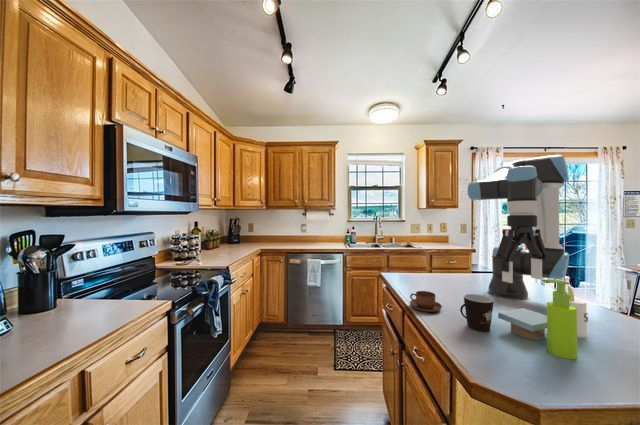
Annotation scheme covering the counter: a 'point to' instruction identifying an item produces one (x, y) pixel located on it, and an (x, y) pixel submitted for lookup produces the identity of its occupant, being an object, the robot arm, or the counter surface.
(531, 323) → the lid
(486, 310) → the coffee mug
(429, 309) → the cup and saucer
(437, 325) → the counter surface
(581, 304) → the white bottle
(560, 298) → the soap dispenser
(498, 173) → the robot arm
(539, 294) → the counter surface
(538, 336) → the block
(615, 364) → the counter surface
